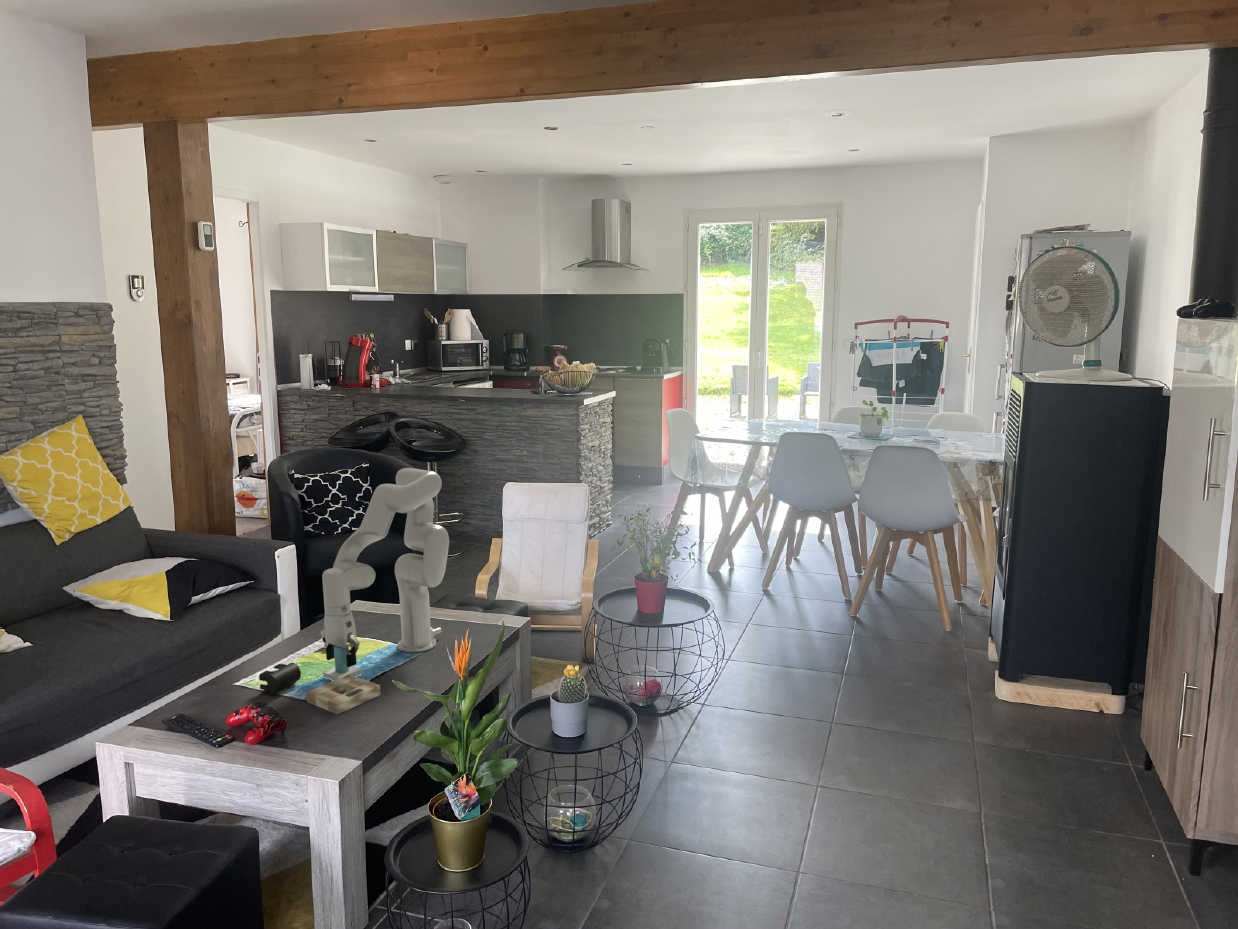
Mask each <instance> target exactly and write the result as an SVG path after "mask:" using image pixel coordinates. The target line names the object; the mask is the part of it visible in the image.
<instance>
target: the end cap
mask: <svg viewBox="0 0 1238 929" xmlns="http://www.w3.org/2000/svg"><path fill="white" fill-rule="evenodd" d="M273 669H277V670H274V671H273V670H264V671H263V672H260V674H259V675H258V679H259V681H262V682H266V683H267V684H263V683H259V689H260V690H262V691H261V694H262V695H265V696H270V697H273V696H275V695H277V694H279V693H281V692H282V691H284V690H286V689H288V688H289V687H291V686H292V684H293V685H294V683H295V684H296V683H297V682H298V681H299V680H300V679H301V677H302V672H301V671H302V670H301V669H300V667H299V666H298V664H296V663H295V662H290V663H288V664H285V663H278V664H277V665H274V666H273ZM287 687H288V688H287ZM285 688H286V689H285ZM280 691H281V692H280ZM278 692H279V693H278Z"/></svg>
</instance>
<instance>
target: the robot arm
mask: <svg viewBox="0 0 1238 929" xmlns="http://www.w3.org/2000/svg"><path fill="white" fill-rule="evenodd" d="M442 482H443V481H442V478H441V477H440V475H439V474H438V473H437V472H435V471H432V470H428V469H427V470H426V469H419V468H414V467H413V468H412V467H405V468H400V469H399V470H398V471H397V472H396V474H395V484H394V483H382V484H379V485H378V486H377V487H376V488H375V489H374V492H373V493H372V496H371V498H370V501H369V504H368V507H367V508H366V511H365V514H364V516H363V519H362V521H361V524H360V525H359V527H358V528H357V529H356V530H355V531H354V532H353V533H351V535H350V536H349V537H347V539H346V540H345V541H344V542H343V543H342V545H341V547H340V548H339V550H338V552H337V555H336V558H335V560H334V562H333V566H332V568H328V569H325V570H324V571H323V573H322V591H323V604H324V606H323V607H324V619H323V620H324V621H323V627H324V628H323V629H322V630H320V635H321V640H322V642H323V643H324V648H325V656H326V658H325V659H326V660H327V661H331V660H333V659H334V646H335V645H336V646H339V647H342V648H345V650H346V652H347V655H346V662H347V667H351V666H354V667H355V666H356V665H357V662H358V661H357V652H358V650H359V646H360V643H361V642H360V641H359V640H358V639H357V629H356V623H355V620H354V615H353V612H352V606H351V595H350V594H351V592H350V591H354V590H360V589H361V590H362V589H366V588H369V587H370V586H372V584H373V583H374V581H375V579H376V571H375V569H374V568H373V567H372V566H370V565H369V564H366V563H361V562H359V561H357V559H358V557H359V555H360V554H361V552H362V551H363V550H364V549H365V548H366V547H368V546H369V545H371V544H374V543H375V542H378V541H380V540H382V539H385V538H386V536H387V535H388V534H389V531H390V528H391V525H392V522H393V520H394V517H395V514H397V513H400V514H406V521H405V527H404V534H403V541H404V542H403V543H404V545H405V546H406V547H407V548H409V549H411V550H414V551H418V552H423V555H422V554H417V553H404V554H402V555H401V556H399V557H398V558H397V560H396V562H395V564H394V575H395V579H396V582H397V587H398V594H399V610H400V627H401V630H400V631H401V640H399V641H398V642H397V648H398V650H399V651H402V652H406V653H421V652H425V651H428V650H431V649H433V648H434V647H435V646H436V645H437V639H436V638H435V635H438V634H441V633H442V631H443V630H442V628H441V627H436V628H433V627H431V614H430V613H431V612H430V611H431V609H430V593H429V589H428V588H436V587H438V585H440V584H441V583H442V582H443V579H444V576H445V573H446V568H447V561H448V555H449V554H448V553H449V547H450V536H449V533H448V530H447V529H446V528H445V527H444V526H442V525H439V524H436V523H434V512H435V503H434V500H433V498H435V497H436V496H437V495H438V494H439V492H440V491H441V489H442V484H443V483H442ZM346 644H347V645H346Z"/></svg>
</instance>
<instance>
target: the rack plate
mask: <svg viewBox="0 0 1238 929" xmlns="http://www.w3.org/2000/svg"><path fill="white" fill-rule="evenodd" d="M345 692H346V693H345ZM343 693H344V694H343ZM305 694H306V696H305V697H306V703H309V704H311V705H313V706H316V707H318V708H321V709H323V710H326V711H327V712H331V713H332V714H335V715H340V714H341V713H344V712H346V711H349V710H351V709H352V708H355V707H357V706H359V705H361V704H364V703H366V702H368V701H371V700H373V699H374V698H377V697H379V696H381V685H380V684H377V683H374V682H372V681H369V680H366V679H364V678H360V677H355V676H352V675H350V674H349V675H346V676H344V677H342V678H339V679H337V680H334V681H330V682H328V683H327V682H326V683H325V684H323V685H320V686H318V687H316V688H313V689H311V690H308V691H306V692H305ZM341 694H342V695H341Z"/></svg>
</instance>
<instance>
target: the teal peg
mask: <svg viewBox="0 0 1238 929" xmlns="http://www.w3.org/2000/svg"><path fill="white" fill-rule="evenodd" d="M347 644H348V643H347ZM347 644H346V645H347ZM346 655H347V652H346V650H345V648H342V647H339V646H336V645H335V646H334V658H333V659H334V668H335V672H336V673H346V672H348V671H349V667H347V662H346Z"/></svg>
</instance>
